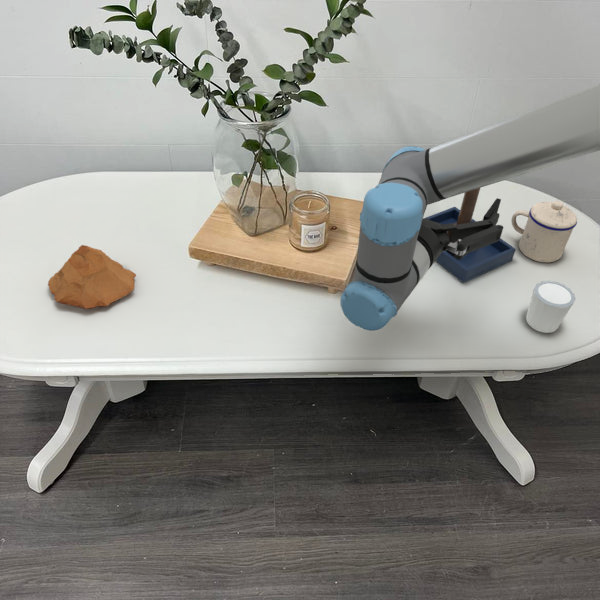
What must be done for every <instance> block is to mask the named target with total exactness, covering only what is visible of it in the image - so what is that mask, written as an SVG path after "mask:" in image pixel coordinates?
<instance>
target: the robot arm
mask: <svg viewBox="0 0 600 600" xmlns="http://www.w3.org/2000/svg"><path fill="white" fill-rule="evenodd" d="M599 151H600V84H597V85H594V86H590V87H588V88H586V89H584V90H581V91H578V92H575V93H572V94H570V95H567V96H565V97H562V98H560V99H557V100H555V101H551V102H549V103H547V104H543V105H540V106H539V107H536V108H533V109H530V110H528V111H525V112H521V113H520V114H516V115H514V116H511V117H509V118H506V119H503V120H501V121H498V122H496V123H493V124H490V125H488V126H485V127H482V128H480V129H477V130H475V131H472V132H469V133H467V134H464V135H461V136H459V137H456V138H454V139H450V140H448V141H446V142H443V143H441V144H437V145H435V146H432V147H430V148H426V149H425V148H423V147H420V146H411V145H410V146H408V145H407V146H404V147H401V148H399V149H398V150H397V151H395V152H394V153H393V154H392V155H391V156H390V158H389V160H388V161H387V162H386V164H385V165H384V167H383V169H382V172H381V175H380V178H379V181H378V184H376V185H375V187H372V188H370V189H369V190H368V191H367V192H366V193H365V194H364V198H363V203H362V208H361V212H360V213H359V221H360V222H359V223H360V224H359V233H358V243H357V245H358V247H357V255H356V261H355V267H354V276H353V279H352V281H351V282H348V283H347V285H346V286H345V289H344V290H343V292H342V294H341V295H340V299H339V300H340V301H339V302H340V303H339V304H340V308H341V311H342V313H343V315H344V316H345V318H346V319H347V320H348V321H349V322H350V323H351V324H352V325H354V326H355V327H358V328H360V329H362V330H363V331H364V330H365V331H371V332H373V331H379V330H381V329H383V328H385V327H386V325H388V323H389V322H390V321H391V320H392V319H393V318H395V317H396V316H397V314H398V311H399V310H400V309H401V307H402V306H403V304H404V303H405V302H406V300H407V299H408V298H409V297H410V295H411V293H412V292H413V291H414V290H415V288H416V287H417V286H418V285H419V283H420V282H421V280H423V278H424V277H425V275H426V274H427V272H428V271H429V270H430V269H431V267H432V266H433V265H434V263H436V262H437V261H436V259H437V258H438V257H439V255H440V254H441V253H442V252H444V251H446V250H448V251H450V252H453V253H455V259H458V260H461V259H462V258H463V257H464V256H465V255H466V254H468V253H470V252H473V251H475V250H478V249H480V248H483V247H485V246H488V245H490V244H493V243H495V242H497V241H499V240H500V238H501V237H502V234H503V230H504V226H503V225H502V224H498V222H499V218H500V213H498V211H499V208H500V205H501V202H502V198H499V197H497V198H496V199H495V200H494V201H493V203H492V204H491V206H490V207H489V208H488V210H487V211H486V212H485V214H484V215H483V217H482V219H481V220H475V221H476V222H470V223H464V224H459V225H454V224H453V223H450V224H444V225H442V224H441V223H438V222H433V221H431V220H429V219H427V218H426V217H424V216H425V214H426V210H427V207H428V206H429V205H432V204H436V203H438V202H440V201H444V200H447V199H450V198H452V197H455V196H458V195H462V194H464V193H465V192H468V191H472V190H475V189H478V188H480V189H481V188H484V187H487V186H491V185H493V184H496V183H500V182H504V181H506V180H509V179H512V178H516V177H519V176H523V175H525V174H529V173H532V172H535V171H538V170H542V169H546V168H547V167H551V166H555V165H557V164H560V163H564V162H566V161H570V160H573V159H577V158H579V157H582V156H583V157H584V156H585V155H589V154H592V153H595V152H599ZM423 218H424V219H423ZM447 231H448V234H447ZM456 241H458V242H456ZM454 242H455V243H454Z"/></svg>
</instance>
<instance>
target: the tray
mask: <svg viewBox="0 0 600 600" xmlns="http://www.w3.org/2000/svg"><path fill="white" fill-rule="evenodd" d="M459 213H460V209H459V208H458V207H456V206H453V207H449V208H447V209H445V210H441V211H439V212H437V213H434V214H432V215H428V216H426V217H423V219H424V218H427V219H429V220H431V221H433V222H438V223H441V224H442V225H444V224H450V223H453V224H454V223H457V220H458V217H459ZM476 221H477V220H475V219H474V218H472V220H471V222H476ZM516 251H517V248H515V247H514V246H512V245H511V244H510V243H508V242H507V241H505V240H504V239H502V238H501V237H500V240H499V241H497V242H495V243H493V244H490V245H488V246H485V247H483V248H480V249H478V250H475V251H473V252H470V253H468V254H466V255H465V256H464V257H463V258H462V259H461V260H458V259H455V257H453V256H452V255H451V254H449V253H448V252H447V251H444V252H442V253H441V254H440V255H439V257H438V258H437V259H436V261H435V262H436V263H438V264H439V265H441V266H442V267H443V269H446V270H447V271H448V272H449V273H450V274H451V275H453V276H454V277H455V278H456V279H458V280H459V281H460V282H461V283H463V284H464V283H467V282H468V281H471V280H473V279H475V278H477V277H479V276H482V275H485V274H486V273H488V272H490V271H493V270H495V269H497V268H499V267H501V266H504V265H505V264H509V263H510V262H512V261H513V259H514V256H515V253H516Z"/></svg>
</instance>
